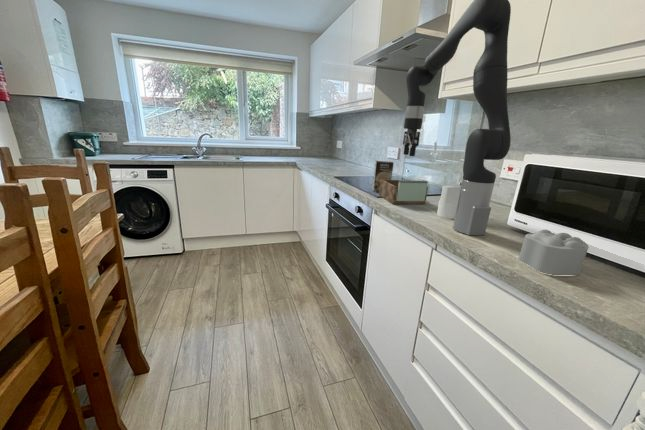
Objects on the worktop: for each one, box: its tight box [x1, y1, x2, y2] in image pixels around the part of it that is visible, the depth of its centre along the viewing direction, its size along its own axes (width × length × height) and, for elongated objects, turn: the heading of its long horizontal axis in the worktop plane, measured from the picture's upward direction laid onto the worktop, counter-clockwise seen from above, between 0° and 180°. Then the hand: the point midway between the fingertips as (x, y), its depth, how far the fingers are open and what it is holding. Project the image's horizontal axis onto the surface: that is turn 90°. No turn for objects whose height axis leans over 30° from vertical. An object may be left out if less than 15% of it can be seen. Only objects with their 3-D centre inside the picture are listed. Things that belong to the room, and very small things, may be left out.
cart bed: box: [378, 179, 429, 205], centre depth 133 cm, size 18×16×8 cm
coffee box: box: [371, 160, 394, 193], centre depth 149 cm, size 9×6×16 cm
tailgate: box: [397, 179, 429, 201], centre depth 123 cm, size 1×13×9 cm, turn 99°
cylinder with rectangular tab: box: [436, 185, 461, 220], centre depth 109 cm, size 9×9×12 cm
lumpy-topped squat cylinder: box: [518, 229, 589, 276], centre depth 69 cm, size 10×13×9 cm
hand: (408, 155), depth 125 cm, fingers open, 8 cm apart
